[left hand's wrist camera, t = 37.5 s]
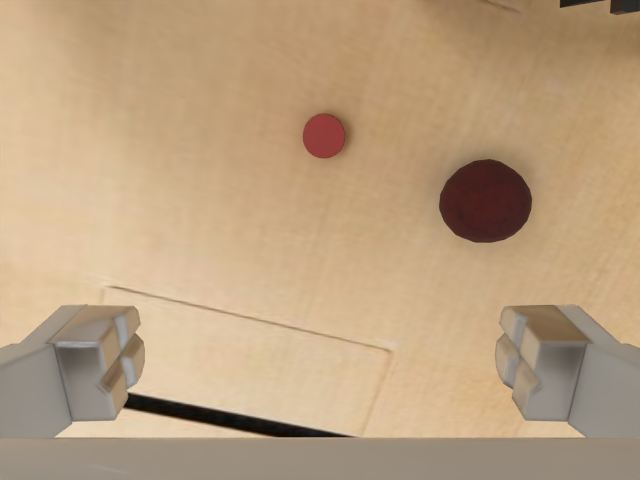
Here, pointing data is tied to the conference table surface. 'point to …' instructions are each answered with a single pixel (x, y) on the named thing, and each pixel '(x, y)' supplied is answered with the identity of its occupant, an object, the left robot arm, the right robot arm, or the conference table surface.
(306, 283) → the conference table surface
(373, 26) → the conference table surface
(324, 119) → the cap
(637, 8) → the right robot arm
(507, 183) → the dark maroon ball
